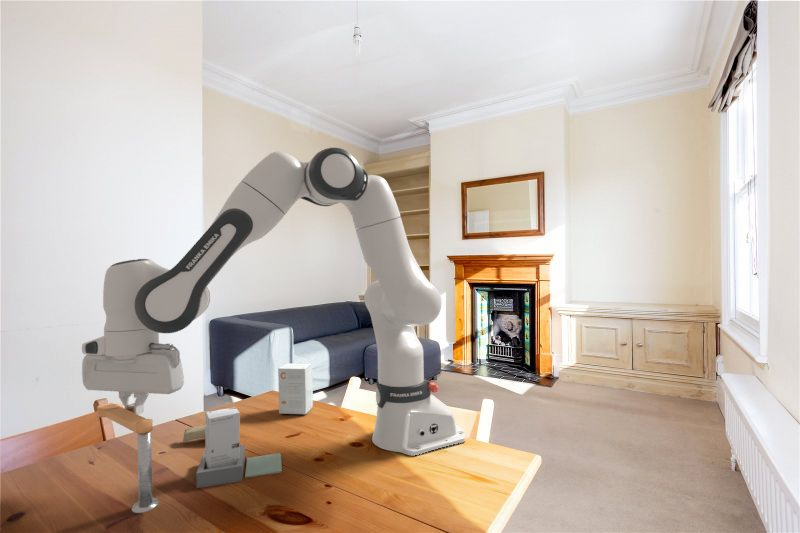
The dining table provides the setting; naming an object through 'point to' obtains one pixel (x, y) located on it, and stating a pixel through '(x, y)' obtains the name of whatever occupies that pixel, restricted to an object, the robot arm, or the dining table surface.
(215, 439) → the skincare box
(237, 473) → the grey slotted base
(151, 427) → the wooden board
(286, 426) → the dining table surface
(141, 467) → the post
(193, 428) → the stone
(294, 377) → the small box
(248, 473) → the mat
